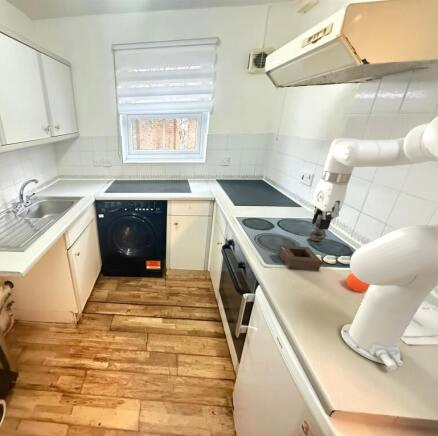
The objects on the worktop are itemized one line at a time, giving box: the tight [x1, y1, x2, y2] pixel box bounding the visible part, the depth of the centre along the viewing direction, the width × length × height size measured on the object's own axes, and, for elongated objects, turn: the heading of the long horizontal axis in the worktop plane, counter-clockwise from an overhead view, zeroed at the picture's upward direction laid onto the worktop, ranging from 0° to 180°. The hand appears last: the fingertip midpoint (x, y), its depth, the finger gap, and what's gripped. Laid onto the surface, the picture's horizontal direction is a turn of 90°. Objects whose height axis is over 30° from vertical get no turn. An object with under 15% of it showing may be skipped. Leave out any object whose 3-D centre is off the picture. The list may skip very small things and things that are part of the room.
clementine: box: [345, 272, 370, 292], centre depth 89 cm, size 8×7×7 cm
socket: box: [278, 245, 323, 272], centre depth 106 cm, size 12×12×5 cm
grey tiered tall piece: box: [305, 214, 328, 246], centre depth 87 cm, size 6×6×12 cm
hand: (319, 226), depth 86 cm, fingers closed on grey tiered tall piece, 3 cm apart
